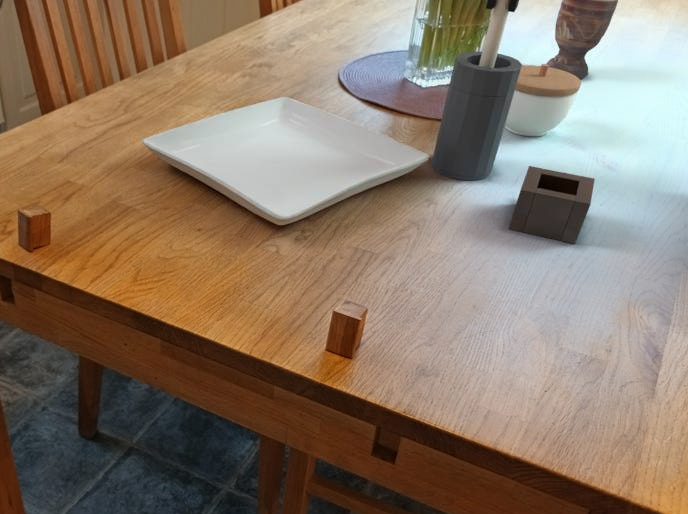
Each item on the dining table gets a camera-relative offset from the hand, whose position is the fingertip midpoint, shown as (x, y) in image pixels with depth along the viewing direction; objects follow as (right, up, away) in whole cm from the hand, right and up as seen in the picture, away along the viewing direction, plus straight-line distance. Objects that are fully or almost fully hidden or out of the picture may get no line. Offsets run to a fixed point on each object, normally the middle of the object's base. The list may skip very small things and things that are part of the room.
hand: (501, 7), depth 85 cm
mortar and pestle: (+31, +11, +46) cm, 57 cm away
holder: (+6, -25, +1) cm, 26 cm away
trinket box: (+14, -7, +24) cm, 28 cm away
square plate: (-25, -17, +11) cm, 32 cm away
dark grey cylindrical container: (0, -16, +13) cm, 20 cm away
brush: (0, -10, +9) cm, 13 cm away
